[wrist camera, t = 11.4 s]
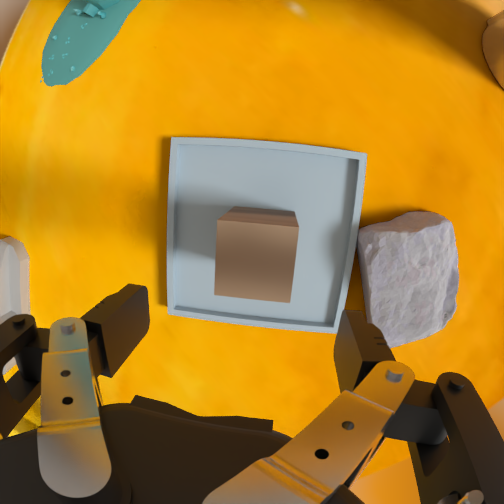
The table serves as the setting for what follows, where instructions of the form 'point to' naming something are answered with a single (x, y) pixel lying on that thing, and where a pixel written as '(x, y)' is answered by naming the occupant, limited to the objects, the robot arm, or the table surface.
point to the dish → (266, 197)
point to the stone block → (409, 275)
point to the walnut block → (256, 254)
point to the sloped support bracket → (13, 283)
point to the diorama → (81, 37)
